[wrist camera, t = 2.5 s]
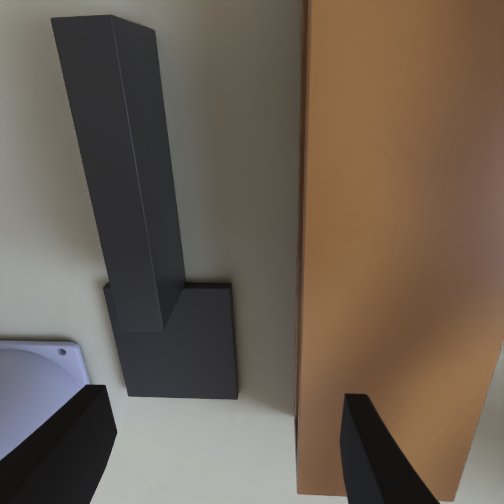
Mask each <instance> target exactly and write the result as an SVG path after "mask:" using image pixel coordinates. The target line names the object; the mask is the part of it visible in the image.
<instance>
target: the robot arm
mask: <svg viewBox="0 0 504 504" xmlns="http://www.w3.org/2000/svg"><path fill="white" fill-rule="evenodd" d="M62 349H63V350H65V351H63V350H62ZM116 435H117V429H116V425H115V421H114V417H113V413H112V409H111V405H110V401H109V397H108V393H107V389H106V385H90V381H89V378H88V374H87V371H86V367H85V364H84V360H83V357H82V353H81V350H80V347H79V346H78V345H77V344H76V343H74V342H56V341H0V504H89V503H90V501H91V499H92V497H93V495H94V493H95V490H96V488H97V486H98V484H99V482H100V479H101V477H102V475H103V473H104V470H105V468H106V465H107V462H108V460H109V457H110V454H111V451H112V448H113V444H114V441H115V438H116ZM339 443H340V453H341V462H342V470H343V479H344V484H345V489H346V493H347V498H348V503H349V504H440V503H439V502H438V500H437V499H436V498H435V497H434V495H433V494H432V493H431V491H430V490H429V489H428V487H427V486H426V485H425V483H424V482H423V481H422V479H421V478H420V476H419V475H418V474H417V472H416V471H415V469H414V468H413V467H412V465H411V464H410V462H409V461H408V459H407V458H406V456H405V455H404V453H403V452H402V450H401V449H400V447H399V446H398V444H397V443H396V441H395V440H394V438H393V437H392V435H391V434H390V432H389V430H388V429H387V427H386V425H385V424H384V422H383V421H382V419H381V417H380V415H379V414H378V412H377V410H376V408H375V407H374V405H373V403H372V401H371V399H370V397H369V396H368V395H367V394H354V393H345V395H344V404H343V413H342V422H341V431H340V440H339Z"/></svg>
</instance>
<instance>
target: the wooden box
mask: <svg viewBox="0 0 504 504" xmlns="http://www.w3.org/2000/svg"><path fill="white" fill-rule="evenodd" d="M503 340H504V0H302V14H301V69H300V124H299V179H298V233H297V288H296V343H295V398H294V426H295V454H296V478H297V493H298V494H304V495H325V496H345V497H347V493H346V489H345V484H344V479H343V470H342V462H341V453H340V443H339V440H340V431H341V422H342V413H343V404H344V395H345V393H354V394H367V395H368V396H369V397H370V399H371V401H372V403H373V405H374V407H375V408H376V410H377V412H378V414H379V415H380V417H381V419H382V421H383V422H384V424H385V425H386V427H387V429H388V430H389V432H390V434H391V435H392V437H393V438H394V440H395V441H396V443H397V444H398V446H399V447H400V449H401V450H402V452H403V453H404V455H405V456H406V458H407V459H408V461H409V462H410V464H411V465H412V467H413V468H414V469H415V471H416V472H417V474H418V475H419V476H420V478H421V479H422V481H423V482H424V483H425V485H426V486H427V487H428V489H429V490H430V491H431V493H432V494H433V495H434V497H435V498H436V499H437V500H438V501H448V502H453V501H454V499H455V495H456V492H457V489H458V486H459V482H460V479H461V476H462V473H463V470H464V466H465V463H466V460H467V457H468V453H469V450H470V447H471V444H472V440H473V437H474V434H475V431H476V427H477V424H478V421H479V418H480V415H481V411H482V408H483V405H484V402H485V398H486V395H487V392H488V389H489V385H490V382H491V379H492V376H493V372H494V369H495V366H496V363H497V360H498V356H499V353H500V350H501V347H502V343H503Z"/></svg>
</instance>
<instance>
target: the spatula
mask: <svg viewBox="0 0 504 504" xmlns="http://www.w3.org/2000/svg"><path fill="white" fill-rule="evenodd" d="M51 23H52V28H53V32H54V37H55V41H56V46H57V50H58V54H59V59H60V63H61V68H62V72H63V77H64V81H65V86H66V90H67V95H68V99H69V104H70V108H71V113H72V117H73V122H74V126H75V130H76V135H77V139H78V144H79V148H80V153H81V157H82V162H83V166H84V171H85V175H86V180H87V184H88V189H89V193H90V197H91V202H92V206H93V211H94V215H95V220H96V224H97V229H98V233H99V238H100V242H101V247H102V251H103V256H104V260H105V265H106V269H107V273H108V278H109V282H110V283H107V284H106V285H105V286H104V287H103V290H104V294H105V299H106V303H107V307H108V311H109V316H110V320H111V324H112V329H113V333H114V337H115V341H116V346H117V350H118V354H119V359H120V363H121V367H122V371H123V376H124V380H125V384H126V388H127V393H128V396H131V397H165V398H199V399H233V400H237V399H238V394H239V389H238V374H237V359H236V344H235V329H234V314H233V299H232V284H231V283H186V278H185V270H184V262H183V254H182V246H181V238H180V230H179V222H178V214H177V206H176V198H175V190H174V182H173V174H172V166H171V158H170V150H169V142H168V134H167V125H166V117H165V109H164V101H163V93H162V85H161V77H160V69H159V61H158V53H157V45H156V37H155V30H153V29H150V28H148V27H145V26H142V25H139V24H136V23H133V22H130V21H128V20H125V19H122V18H119V17H116V16H113V15H94V16H75V17H56V18H51Z"/></svg>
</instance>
